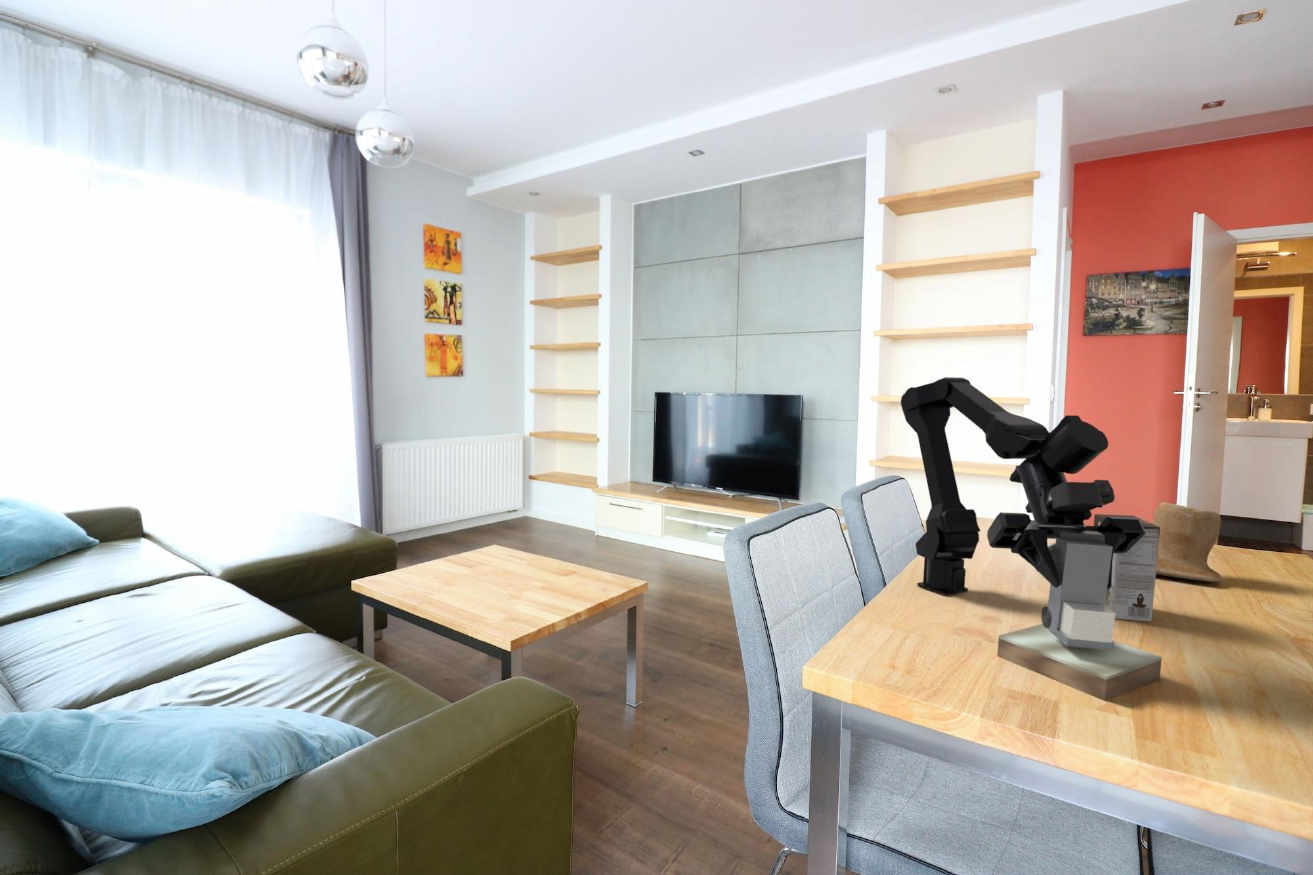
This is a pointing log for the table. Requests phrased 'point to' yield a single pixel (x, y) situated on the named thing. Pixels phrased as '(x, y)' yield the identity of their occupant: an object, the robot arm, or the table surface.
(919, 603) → the table surface
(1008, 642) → the plate
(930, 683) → the table surface
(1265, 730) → the table surface
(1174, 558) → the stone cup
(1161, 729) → the table surface
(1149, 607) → the coffee box
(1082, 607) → the hand trolley
